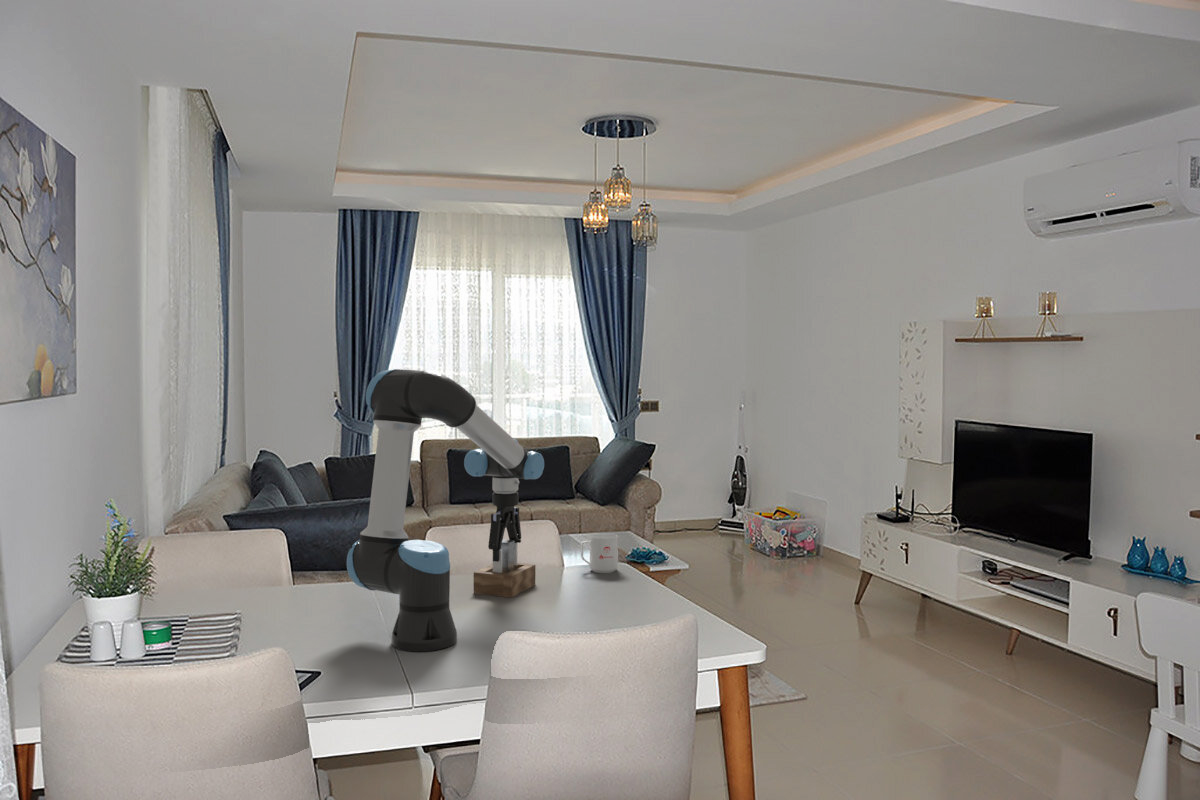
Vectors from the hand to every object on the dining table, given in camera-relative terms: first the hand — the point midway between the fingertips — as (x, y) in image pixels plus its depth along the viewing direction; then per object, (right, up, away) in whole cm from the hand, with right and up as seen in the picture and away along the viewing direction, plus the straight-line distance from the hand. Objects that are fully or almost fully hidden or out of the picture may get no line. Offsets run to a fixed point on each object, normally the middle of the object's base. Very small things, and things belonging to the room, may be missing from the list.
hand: (505, 568), depth 268 cm
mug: (+27, -5, +24) cm, 37 cm away
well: (0, -6, 0) cm, 6 cm away
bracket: (0, -6, +2) cm, 6 cm away
